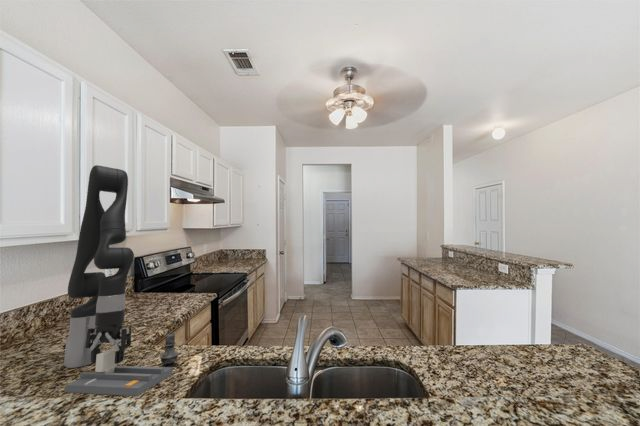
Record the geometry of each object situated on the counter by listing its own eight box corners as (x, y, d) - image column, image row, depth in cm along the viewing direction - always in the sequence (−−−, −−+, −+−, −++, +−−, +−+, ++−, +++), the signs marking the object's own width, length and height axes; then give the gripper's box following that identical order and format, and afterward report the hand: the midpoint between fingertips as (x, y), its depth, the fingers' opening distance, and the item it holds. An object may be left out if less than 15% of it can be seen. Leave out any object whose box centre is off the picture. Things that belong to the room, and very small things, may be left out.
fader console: (65, 392, 79) (66, 379, 79) (109, 371, 93) (110, 360, 93) (137, 396, 75) (138, 382, 76) (172, 373, 89) (172, 362, 89)
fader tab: (93, 378, 83) (95, 354, 84) (109, 371, 88) (110, 348, 89) (102, 378, 82) (104, 354, 83) (117, 371, 87) (118, 349, 88)
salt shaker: (170, 369, 92) (171, 332, 94) (155, 369, 93) (157, 332, 95) (182, 363, 98) (183, 328, 100) (167, 362, 99) (169, 328, 101)
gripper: (80, 311, 85) (75, 366, 83) (119, 311, 83) (115, 368, 81) (102, 307, 93) (98, 357, 90) (139, 306, 91) (136, 358, 88)
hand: (106, 362), depth 86 cm, fingers open, 8 cm apart
